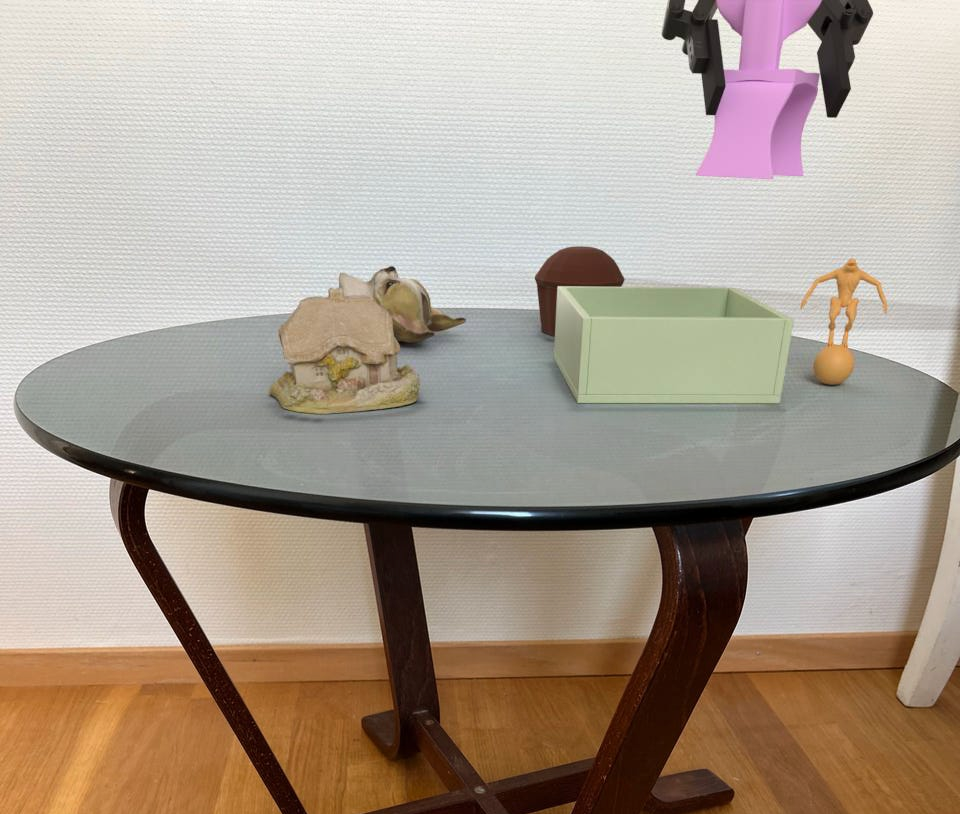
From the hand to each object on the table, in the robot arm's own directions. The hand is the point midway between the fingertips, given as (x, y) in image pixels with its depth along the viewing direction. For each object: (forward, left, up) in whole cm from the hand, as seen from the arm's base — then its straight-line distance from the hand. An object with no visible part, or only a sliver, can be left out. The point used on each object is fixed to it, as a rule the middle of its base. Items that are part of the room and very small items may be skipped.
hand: (777, 102), depth 72 cm
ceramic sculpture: (+31, -36, -25) cm, 54 cm away
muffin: (+8, -42, -25) cm, 50 cm away
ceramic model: (+35, -8, -25) cm, 44 cm away
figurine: (-15, -15, -25) cm, 33 cm away
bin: (+3, -16, -25) cm, 30 cm away
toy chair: (0, -3, -5) cm, 6 cm away
